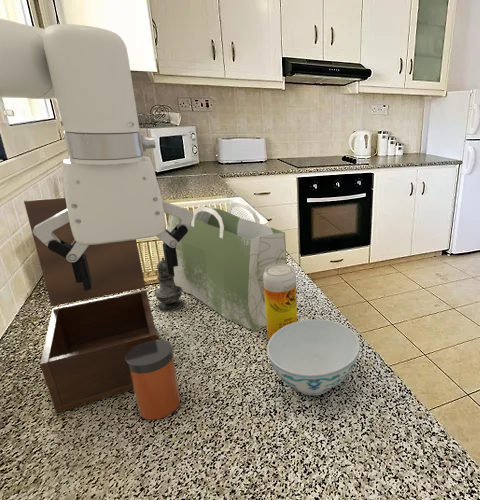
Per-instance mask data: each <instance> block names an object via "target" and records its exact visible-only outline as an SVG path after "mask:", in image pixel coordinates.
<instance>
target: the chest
mask: <svg viewBox="0 0 480 500" xmlns="http://www.w3.org/2000/svg"><path fill="white" fill-rule="evenodd" d="M49 317H50V318H49V322H48V326H47V331H46V335H45V338H44V339H45V340H44V344H43V349H42V353H41V358H40V362H39V366H40V369H41V372H42V375H43V378H44V381H45V383H46V387H47V390H48V393H49V396H50V399H51V401H52V404H53V407H54V411H55V414H58V413H62V412H66V411H68V410H71V409H75V408H77V407H80V406H84V405H87V404H91V403H93V402H97V401H100V400H103V399H106V398H109V397H112V396H116V395H118V394H122V393H125V392H128V391H132V390H134V389H133V384H132V380H131V376H130V372H129V370H128V368H127V364H126V360H125V357H126V354H127V353H128V352H129V351H130V350H131V349H132V348H133V347H135V346H137V345H139V344H141V343H144V342H147V341H152V340H159V338H158V334H157V329H156V325H155V321H154V316H153V313H152V308H151V304H150V301H149V296H148V292H147V289H146V288H144V289H140V290H134V291H129V292H124V293H121V294H120V293H119V294H116V295H115V294H114V295H111V296H110V295H109V296H104V297H99V298H94V299H90V300H86V301H81V302H76V303H70V304H67V305H60V306H56V307H52V309H51V313H50V316H49Z"/></svg>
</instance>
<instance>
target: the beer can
mask: <svg viewBox="0 0 480 500" xmlns="http://www.w3.org/2000/svg"><path fill="white" fill-rule="evenodd" d="M263 279H264V294H265V308H266V323H267V325H266V335H267V337H268V338H269V340H270V339H271V337H272V336H273V335H274V334H275V333H276V332H277V331H278V330H280V329H281V328H283V327H285V326H287V325H289V324H292V323H295V322H298V301H297V300H298V299H297V296H298V295H297V273H296V270H295V269H294V267H293V266H292V265H291V264H288V263H286V264H273V265H270V266H268V267H267V268H266V269H265V272H264V275H263Z"/></svg>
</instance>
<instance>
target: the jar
mask: <svg viewBox="0 0 480 500" xmlns="http://www.w3.org/2000/svg"><path fill="white" fill-rule="evenodd" d="M125 360H126V364H127V368H128V370H129V372H130V376H131V380H132V384H133V389H132V390H133V392H134V397H135V401H136V405H137V410H138V412H139V416H140V417H141V418H143V419H144V420H149V421H153V420H154V421H155V420H160V419H163V418H165V417H167V416H169V415H172V413H173V412H175V411H176V410H177V409H178V408H179V406H180V404H181V394H180V390H179V384H178V378H177V372H176V367H175V361H174V350H173V346H172V344H171V342H169V341H167V340H164V339H158V340H152V341H147V342H144V343H141V344H139V345H137V346H135V347H133V348H132V349H131V350H130V351H129V352H128V353H127V354H126V357H125Z"/></svg>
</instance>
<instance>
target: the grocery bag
mask: <svg viewBox="0 0 480 500" xmlns="http://www.w3.org/2000/svg"><path fill="white" fill-rule="evenodd" d="M235 207H239V208H243V209H245V210H246V211H248V213H250V214H251V215H252V217H253V219H254V221H253V220H249V219H245V218H242V217H239V216H237V215H235V214H233V213H232V209H233V208H235ZM191 212H192V213H193V215H194V217H193V219H192V222H191V224H190V226H189V228H188V232H187V233H186V234H185V236H184V237H183V238H182V239H181V240H180V241H179V242H178V246H177V247H176V253H177V260H178V266H176V267H174V274H175V276H174V283H175V285H176V286H180V287H181V288H182V289H183V290H182V292H184V293H187V294H189V295H192V296H193V297H195V298H196V299H197V300H199V301H201V302H202V303H203V304H205V305H206V306H208V307H209V308H211V309H212V310H213V311H215V312H216V313H218V314H219V315H221V316H223V317H224V318H225V319H226V320H229V321H231V322H233V323H235V324H238V325H240V326H242V327H244V328H246V329H249V330H251V331H254V332H258V331H259V330H261V329H263V328H264V327H267V323H266V308H265V294H264V279H263V275H264V272H265V269H266V268H267V267H268V266H270V265H273V264H287V245H286V244H287V243H286V242H287V241H286V232H285V231H282V230H279V229H277V228H274V227H272V226H268V225H266V224H264V223H261V221H260V220H261V219H260V217H259V216H258V214H257V213H256V211H255V210H254V209H253V208H252V207H251V206H249V205H247V204H245V203H242V202H237V201H233V202H231V203H230V204H229V205H228V206H227V211H226V210H223V209H220V208H217V207H213V206H208V205H204V206H201V205H200V206H198V207H196V208H194V210H193V211H191ZM167 220H168V221H167V227H166V229H167V230H168V231H170V232H171V231H172V230H173V229H174V228H175V227H176V226H177V225H178V223H179V220H180V218H179V217H176V216H173V215H170V214H168V219H167Z"/></svg>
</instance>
